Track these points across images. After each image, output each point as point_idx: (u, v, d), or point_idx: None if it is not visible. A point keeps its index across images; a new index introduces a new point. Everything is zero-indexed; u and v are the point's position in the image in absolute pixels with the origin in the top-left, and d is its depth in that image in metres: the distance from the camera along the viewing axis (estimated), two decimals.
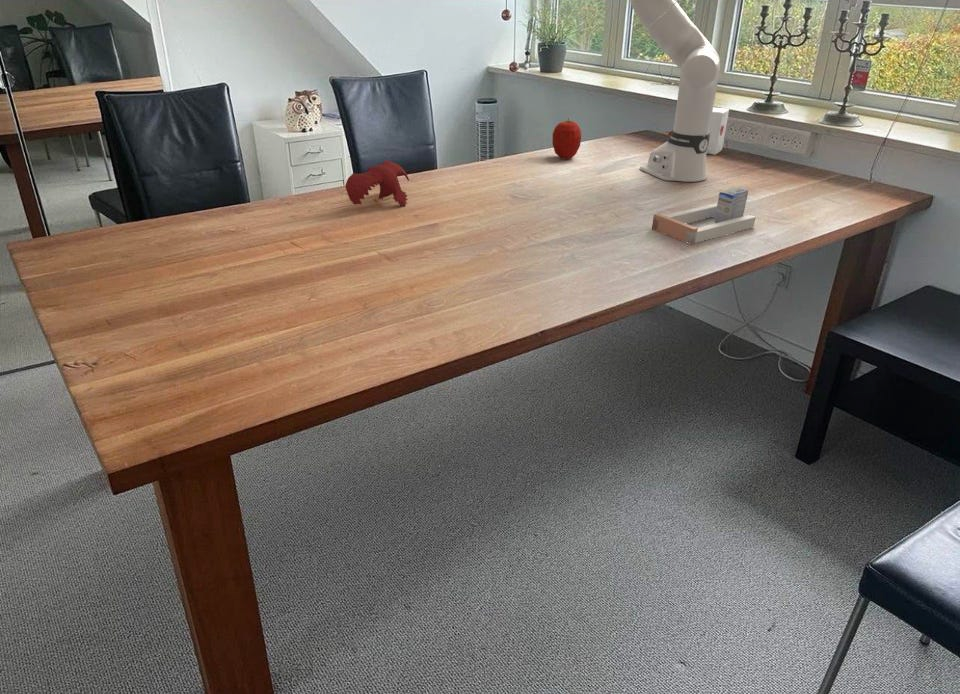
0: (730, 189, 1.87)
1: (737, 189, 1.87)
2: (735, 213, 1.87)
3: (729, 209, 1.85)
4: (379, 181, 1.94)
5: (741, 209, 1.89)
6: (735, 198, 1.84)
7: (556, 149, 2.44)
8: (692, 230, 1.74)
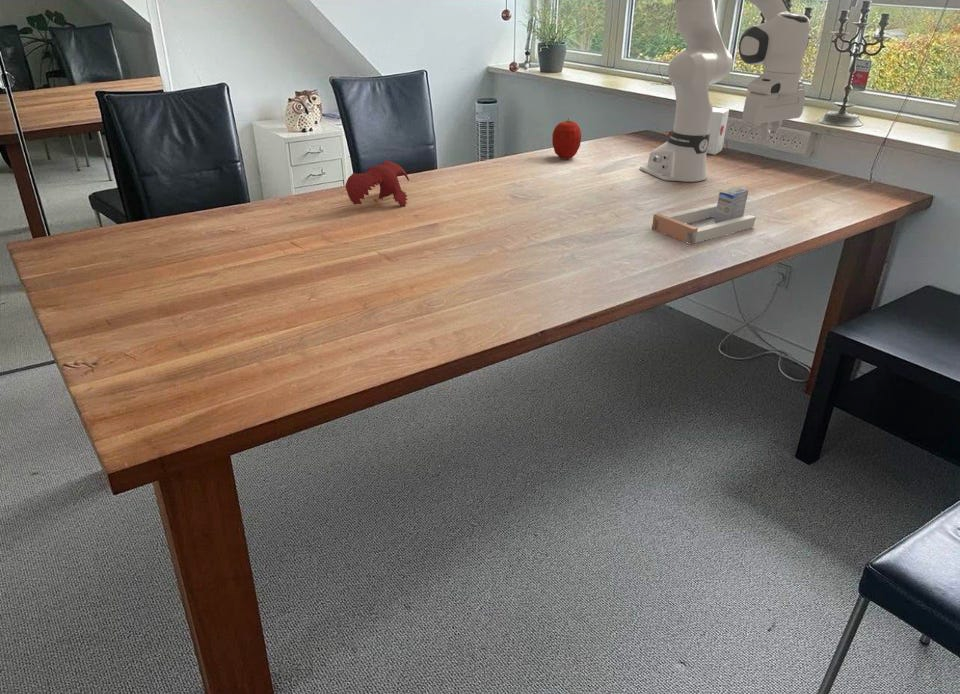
0: (730, 189, 1.87)
1: (737, 189, 1.87)
2: (735, 213, 1.87)
3: (729, 209, 1.85)
4: (379, 181, 1.94)
5: (741, 209, 1.89)
6: (735, 198, 1.84)
7: (556, 149, 2.44)
8: (692, 230, 1.74)
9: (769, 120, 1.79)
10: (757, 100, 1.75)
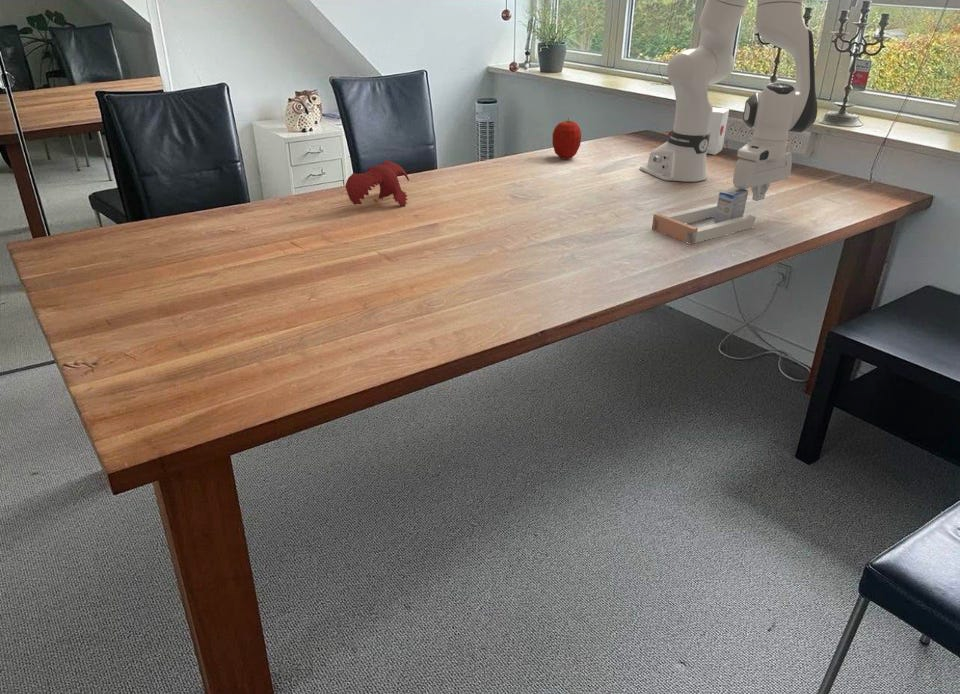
0: (730, 189, 1.87)
1: (737, 189, 1.87)
2: (736, 213, 1.87)
3: (729, 209, 1.85)
4: (379, 181, 1.94)
5: (741, 209, 1.89)
6: (735, 198, 1.84)
7: (556, 149, 2.44)
8: (692, 230, 1.74)
9: (758, 184, 1.87)
10: (746, 167, 1.82)
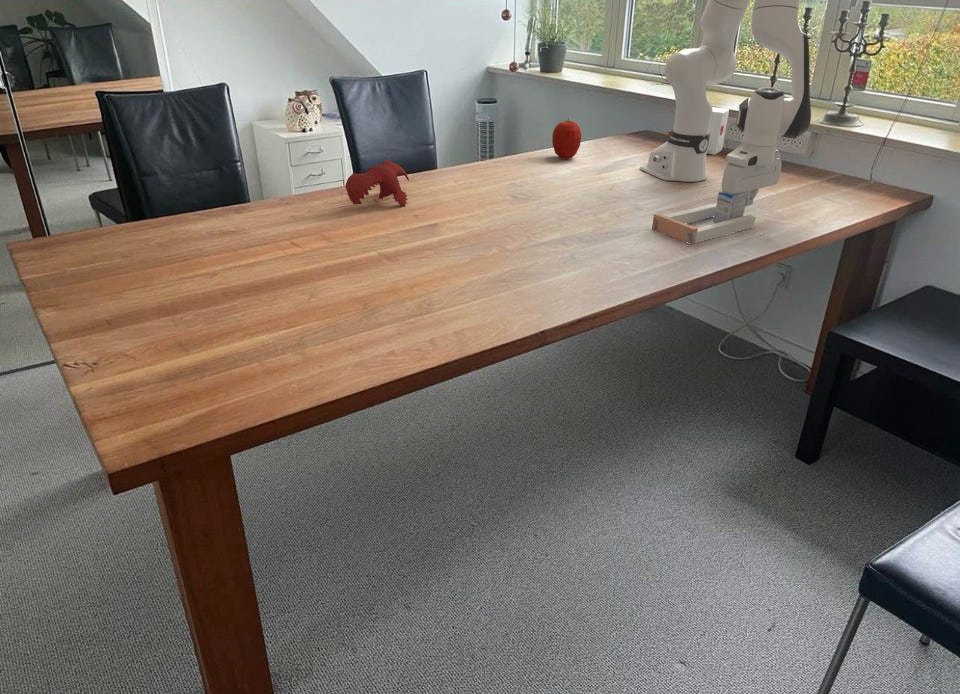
0: None
1: None
2: (735, 213, 1.87)
3: (728, 209, 1.85)
4: (379, 181, 1.94)
5: (741, 209, 1.88)
6: (734, 198, 1.83)
7: (556, 149, 2.44)
8: (692, 230, 1.74)
9: (747, 189, 1.86)
10: (735, 172, 1.81)
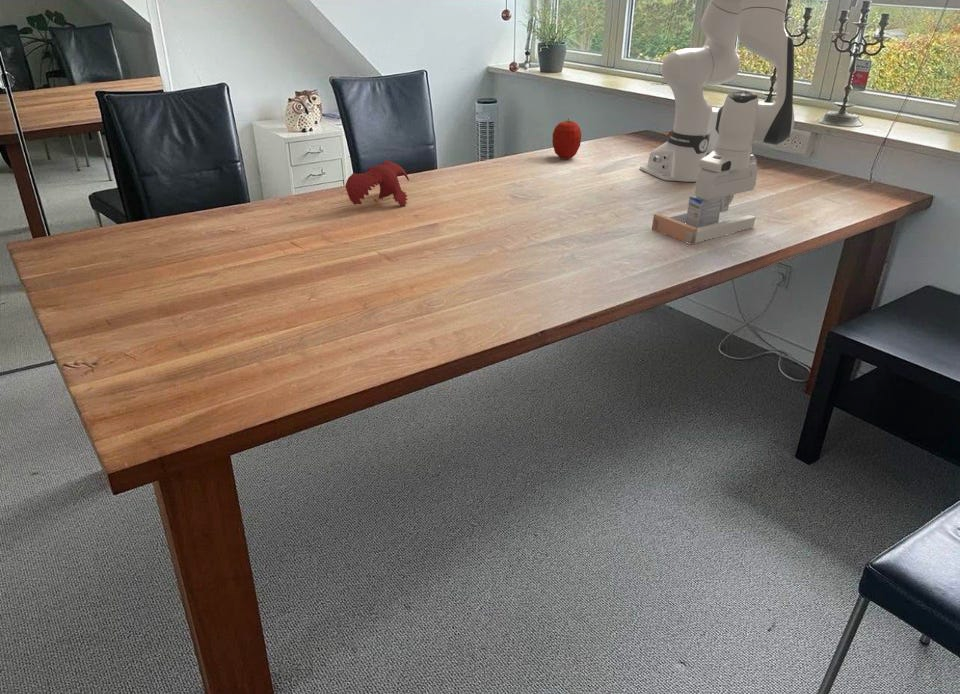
0: None
1: None
2: (706, 219, 1.82)
3: (698, 215, 1.81)
4: (379, 181, 1.94)
5: (714, 215, 1.83)
6: (703, 203, 1.79)
7: (556, 149, 2.44)
8: (692, 230, 1.74)
9: (721, 195, 1.81)
10: (708, 178, 1.76)
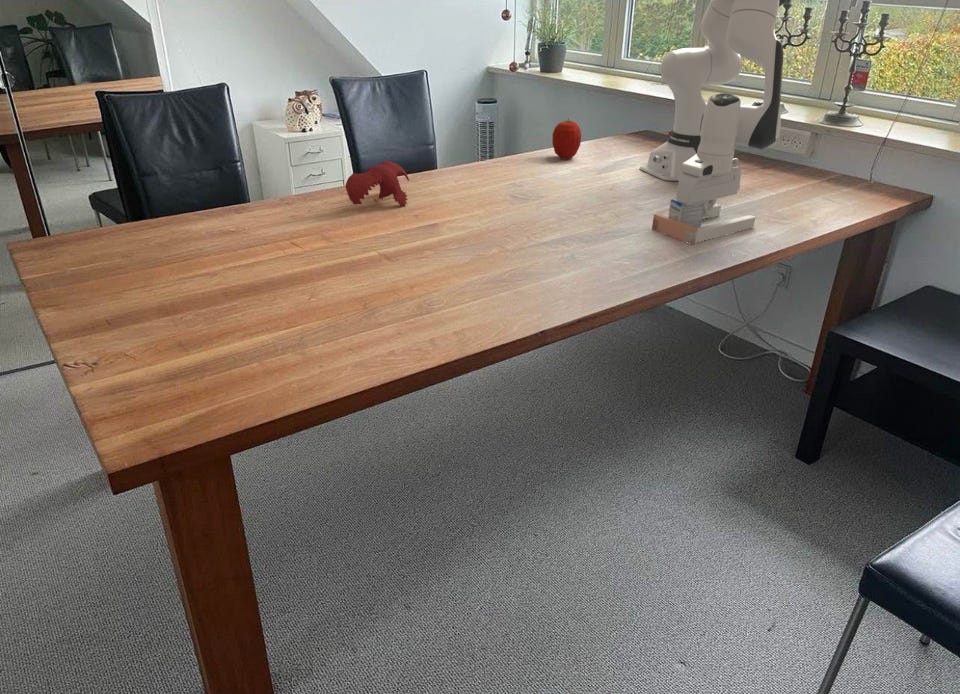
0: None
1: None
2: (688, 222, 1.80)
3: (678, 218, 1.78)
4: (379, 181, 1.94)
5: (696, 219, 1.81)
6: (684, 206, 1.77)
7: (556, 149, 2.45)
8: (692, 230, 1.74)
9: (704, 199, 1.78)
10: (689, 182, 1.73)
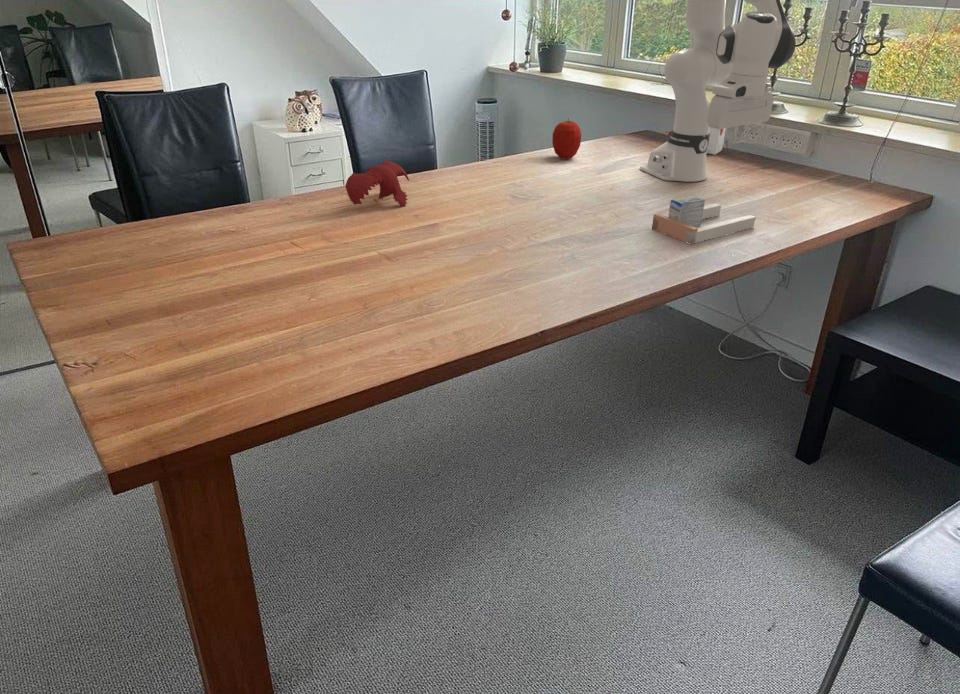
0: (685, 197, 1.80)
1: (693, 198, 1.80)
2: (687, 222, 1.80)
3: (678, 218, 1.78)
4: (379, 181, 1.94)
5: (696, 219, 1.81)
6: (684, 207, 1.77)
7: (556, 149, 2.45)
8: (692, 230, 1.74)
9: (735, 124, 1.73)
10: (721, 104, 1.68)
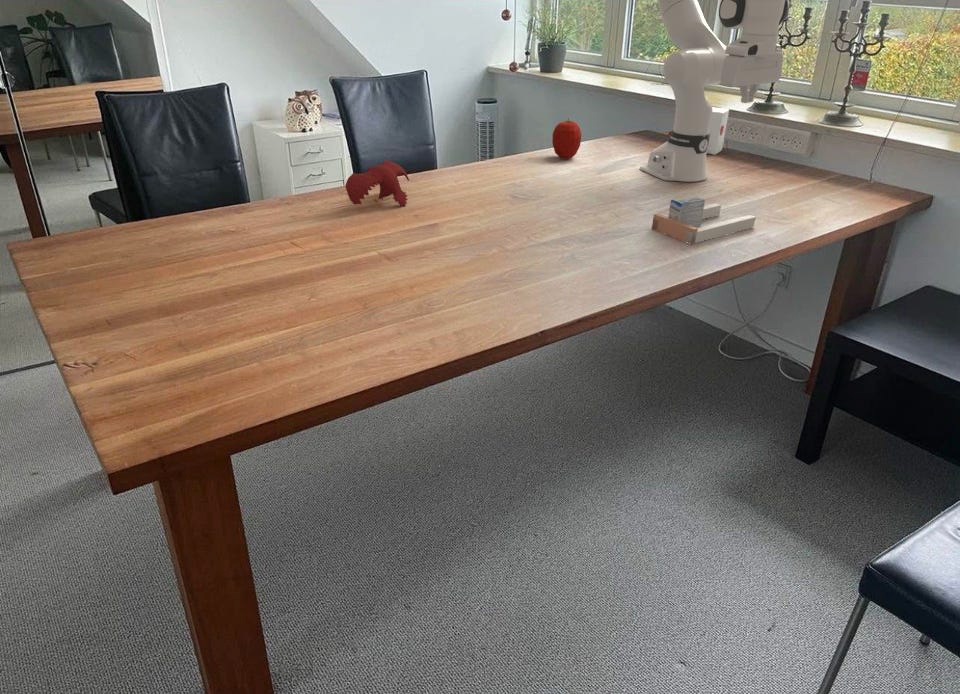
0: (685, 197, 1.80)
1: (693, 198, 1.80)
2: (687, 222, 1.80)
3: (678, 218, 1.78)
4: (379, 181, 1.94)
5: (696, 219, 1.81)
6: (684, 207, 1.77)
7: (556, 149, 2.45)
8: (692, 230, 1.74)
9: (747, 83, 1.81)
10: (734, 62, 1.76)
